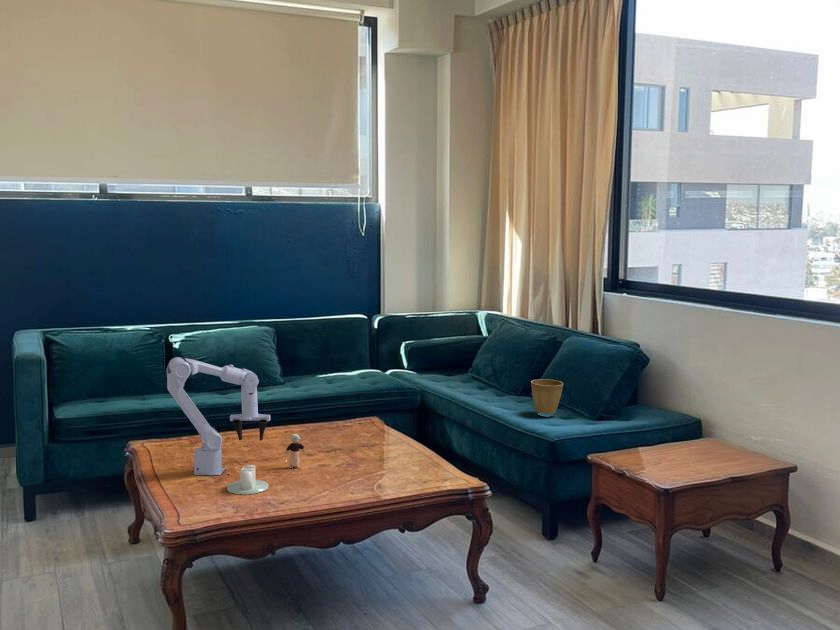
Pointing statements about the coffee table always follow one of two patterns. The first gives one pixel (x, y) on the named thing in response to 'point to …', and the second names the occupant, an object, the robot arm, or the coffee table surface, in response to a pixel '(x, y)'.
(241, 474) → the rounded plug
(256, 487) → the sage plate
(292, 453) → the grandmother figurine
